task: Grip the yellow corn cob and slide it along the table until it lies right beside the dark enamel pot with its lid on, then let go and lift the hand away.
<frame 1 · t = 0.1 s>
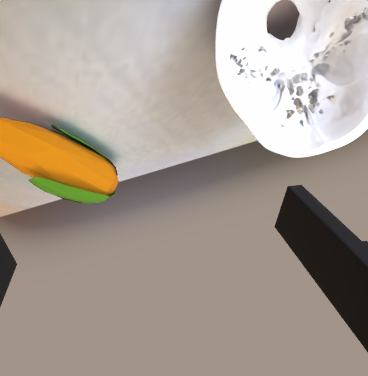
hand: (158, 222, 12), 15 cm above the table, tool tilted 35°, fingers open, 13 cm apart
skull bowl: (278, 17, 20), on the table
corn: (59, 137, 31), on the table
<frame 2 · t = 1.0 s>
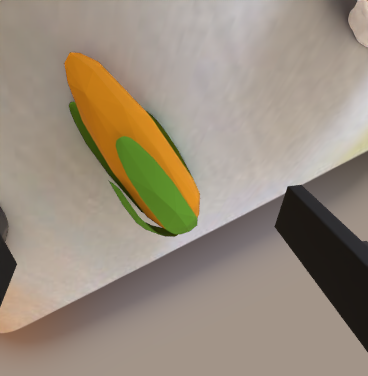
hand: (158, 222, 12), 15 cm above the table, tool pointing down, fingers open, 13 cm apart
corn: (136, 146, 26), on the table
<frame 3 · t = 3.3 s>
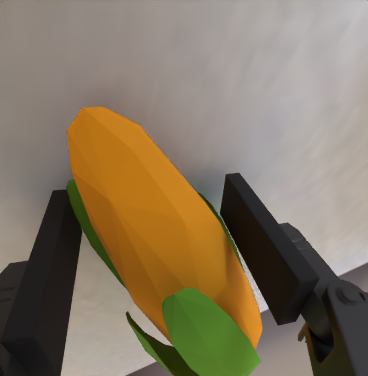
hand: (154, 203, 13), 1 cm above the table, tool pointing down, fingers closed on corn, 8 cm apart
corn: (168, 231, 16), on the table, touching gripper
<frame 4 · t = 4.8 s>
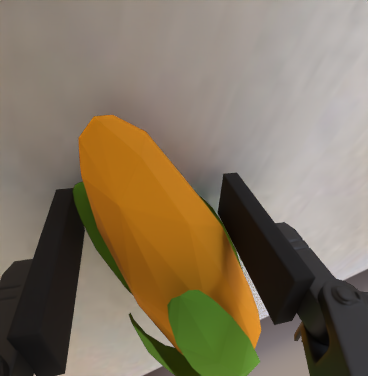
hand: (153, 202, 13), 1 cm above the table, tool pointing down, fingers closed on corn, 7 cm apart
corn: (169, 234, 17), on the table, touching gripper
when the fingers open (1 cm above the table, at t = 6.8 s): corn stays where it is, on the table.
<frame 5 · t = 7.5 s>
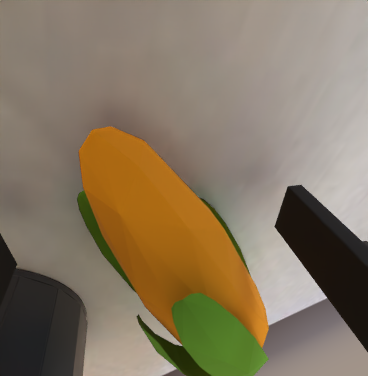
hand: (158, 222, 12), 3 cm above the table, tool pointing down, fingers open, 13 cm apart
corn: (174, 235, 17), on the table
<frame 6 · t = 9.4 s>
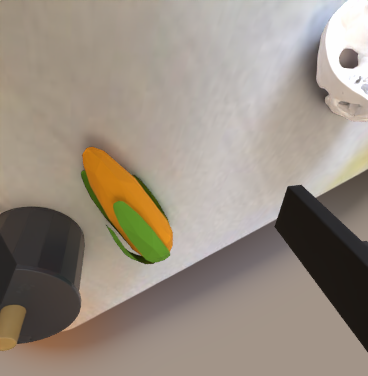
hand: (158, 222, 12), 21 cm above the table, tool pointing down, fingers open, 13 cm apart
pot: (37, 241, 36), on the table
pot lid: (15, 306, 28), point 10 cm above the table, touching pot
skull bowl: (341, 64, 32), on the table
corn: (127, 196, 35), on the table
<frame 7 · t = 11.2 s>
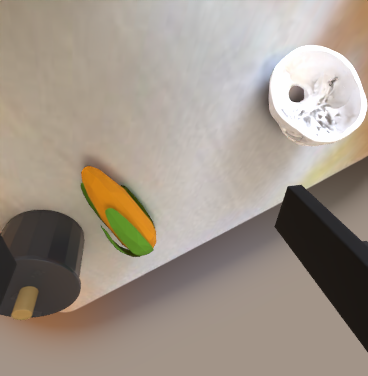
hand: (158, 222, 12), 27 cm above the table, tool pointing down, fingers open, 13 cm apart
pot: (45, 237, 44), on the table
pot lid: (30, 287, 36), point 10 cm above the table, touching pot
skull bowl: (292, 96, 39), on the table
corn: (118, 201, 43), on the table
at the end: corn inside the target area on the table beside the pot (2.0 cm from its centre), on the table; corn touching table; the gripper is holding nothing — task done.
